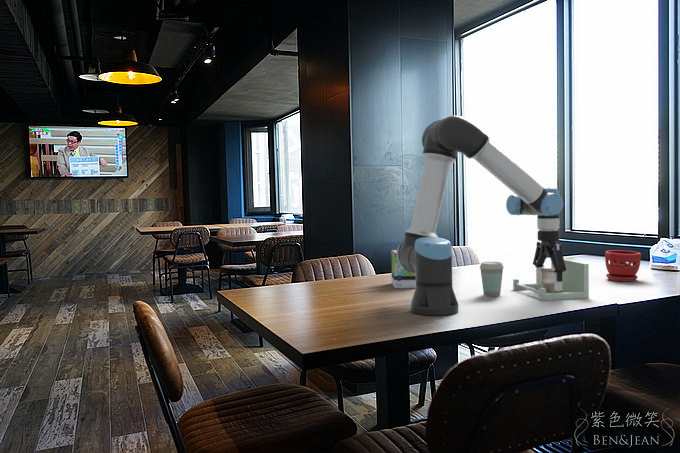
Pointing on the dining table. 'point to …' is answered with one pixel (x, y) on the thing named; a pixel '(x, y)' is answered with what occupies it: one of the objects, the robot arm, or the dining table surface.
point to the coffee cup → (491, 278)
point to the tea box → (401, 274)
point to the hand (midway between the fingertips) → (548, 287)
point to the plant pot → (622, 265)
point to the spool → (548, 279)
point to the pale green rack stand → (564, 283)
